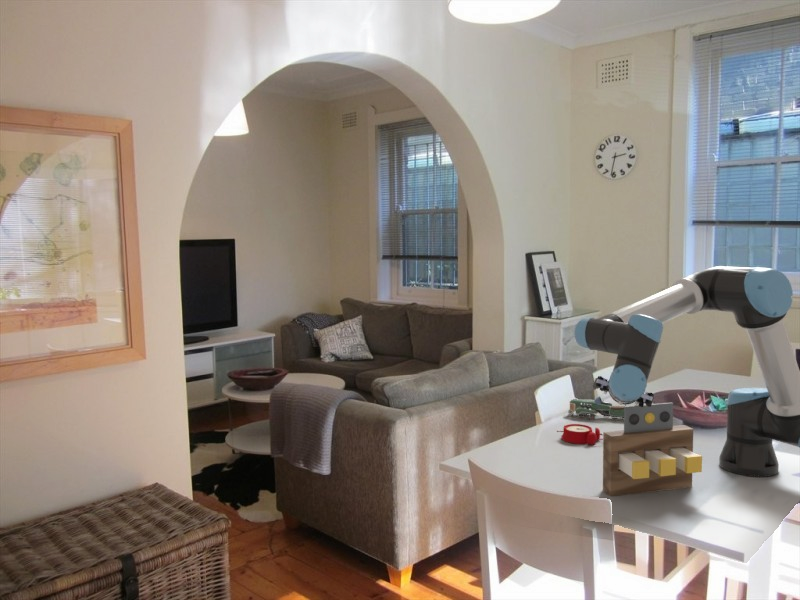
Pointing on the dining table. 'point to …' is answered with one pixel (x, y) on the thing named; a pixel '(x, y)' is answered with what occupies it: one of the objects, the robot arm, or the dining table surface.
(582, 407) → the hoverbike
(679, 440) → the panel
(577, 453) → the dining table surface
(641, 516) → the dining table surface
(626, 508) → the dining table surface
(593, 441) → the alarm clock
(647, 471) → the button
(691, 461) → the button
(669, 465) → the button mid
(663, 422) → the card
